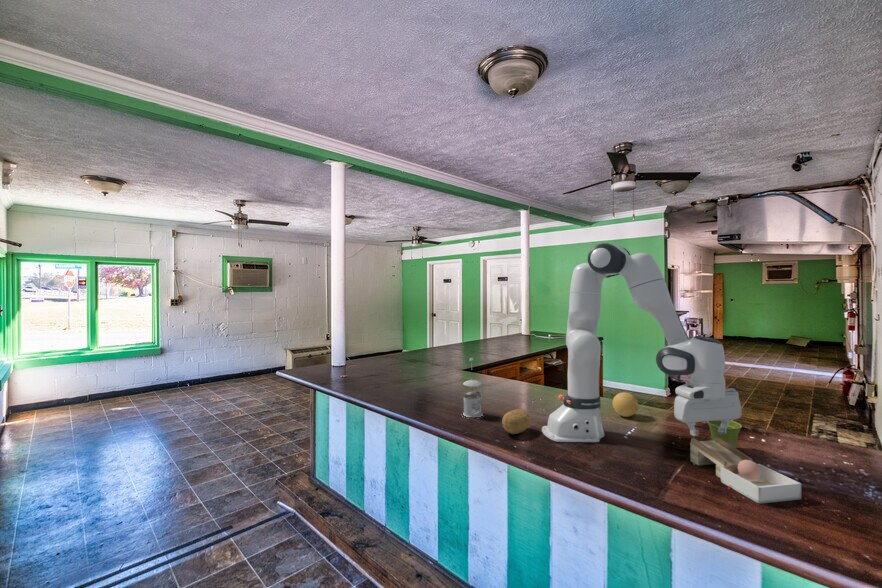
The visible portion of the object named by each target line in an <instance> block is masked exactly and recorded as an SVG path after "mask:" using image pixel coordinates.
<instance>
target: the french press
mask: <svg viewBox="0 0 882 588" xmlns="http://www.w3.org/2000/svg"><path fill="white" fill-rule="evenodd" d="M474 361H475V360H474V358H473V357H470V358H469V362H471V363H470V365H471V369H473V362H474ZM462 385H463V387H466V388H477V389H478V391H477V390H467V391H464V395H463V412H462V413H463V415H464V416H466V417H481V416H483V414H484V413H483V412H482V399H483V395H484V394H483V387H482V383H481V382H480V381H478V380H476V379H469V380H466V381H464V382H463V383H462ZM480 389H481V391H480ZM483 417H484V416H483ZM481 418H482V417H481Z"/></svg>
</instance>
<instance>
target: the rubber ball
mask: <svg viewBox="0 0 882 588" xmlns="http://www.w3.org/2000/svg"><path fill="white" fill-rule="evenodd" d="M757 464H758V463H756V462H755V461H753V460H752V461H751V460H742V461H740V462H739V464H738V471H739V473H740V474H741V475H742V476H743V477H744V478H746V479H749V480H755V479H758V478H759V477H760V475H761V470H760V467H759V466H758V465H757Z"/></svg>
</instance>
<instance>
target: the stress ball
mask: <svg viewBox="0 0 882 588" xmlns="http://www.w3.org/2000/svg"><path fill="white" fill-rule="evenodd" d="M612 407H613V409H614V411H615V412H616V413H617V414H618V415H619V416H621V417H623V418H629V417H632V416H634V415H635V414H636V413H637V412H638V410H639V409H640V407H639V402H638V399H637V397H635V396H634V395H633V394H632V393H630V392H624V391H623V392H619V393H617V394H616V395H614V397H613V399H612Z"/></svg>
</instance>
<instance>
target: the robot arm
mask: <svg viewBox="0 0 882 588" xmlns="http://www.w3.org/2000/svg"><path fill="white" fill-rule="evenodd" d="M618 275H621V276H622V277H623V278H624V279H625V282H626V284H627V287H628V289H629V292H630V295H631V297H632V300H633V301H634V303H635V304H636V305H637V307H638V308H639V309H640V310H642V311H644V312H646V313H648V314H650V315H651V316H652V317H654V318H655V319H656V321H657V322H658V324H659V326H660V328H661V331H662V333H663V335H664V337H665V339H666V341H667V345H666V346H664V347H662V348H661V349H659V350H658V351H657V354H656V356H655V363H656V366H657V367H658V369H659V370H660V371H661V372H662V373H664V374H665V375H668V376H676V377H678V376H689V377H690V381H687V382H686V383H684V384H682V385H679V386H677V387H676V388H675V395H676V396H675V399H674V404H673V405H674V407H673V413H674V414H673V415H674V417H675V419H676V420H677V421H679V422H682V423H683V424H686V426H687V427H688V428H689V434H690V435H691V436H692V437H697V436H699V435H700V434H699V431H700V430H699V429H696V428H695V426H696V424H697V423H699V422H707V421H716V420H720V421H722V422H721V424H720V427H717V429H718V433H720V434H726V428H727V427H728V425H729V424H730V421H731V420H739V419H740V418H741V417H742V406H741V401H740V397H739V395H740V394H739V392H738V391H737V390H736V389H735V388H734V387H729V388H726V378H725V375H724V372H725V368H726V357H725V350H724V349H725V348H724V346H723V343H722V342H721V341H719V340H718V339H717V338H713V337H709V336H705V335H704V336H703V335H695V336H693V337H691V338H690V337H688V335H687V332H686V329H685V328H684V326H683V323H682V322H681V319H680V317H679V315H678V313H677V311H676V309H675V306H674V303H673V300H672V297H671V294H670V291H669V289H668V285H667V283H666V280H665V278H664V275H663V273H662V271H661V269H660V267H659V265H658V264H657V262H656V260H655V259H654V258H653V256H652V255H651V254H650V253H647V252H637V253H633V254H631V253H630V252H629V251H628V249H627V248H625V247H622V246H620V245H617V244H614V243H607V242H606V243H605V242H603V243H598V244H596V245H594V246H593V247H592V248H591V249H590V251H588V253H587V262H583V263H579V264H577V265H576V266H575V267H574V269H573V271H572V275H571V280H570V287H569V288H570V289H569V302H568V303H569V304H568V315H567V323H566V325H567V326H566V335H565V345H566V347H567V356H568V357H567V393H566V395H563V394H559V395H558V400H560V401H562V402H563V403H562V404H561V405H560V406H559V407H558V408H557V409H555V410H554V411H553V412H551V413H550V414H549V416H548V418H547V419H548V420H547V425H543V426H541V427H542V428H541V432H542V434H543V435H544V436H545V437H546V438H548V439H550V440H551V441H553V442H558V443H599V442H600V441H601V439H602V438H604V437H605V436H606V435H605V431H604V429H603V428H604V427H603V425H602V424H603V423H602V418H601V407H602V406H601V405H602V404H601V395H600V383H599V382H600V367H601V366H600V364H601V341H600V340H599V338H598V337H597V334H598V325H599V320H600V316H601V302H602V301H601V300H602V285H603V281H604V279H605V278H607V279H608V278H611V277H615V276H618Z"/></svg>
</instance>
